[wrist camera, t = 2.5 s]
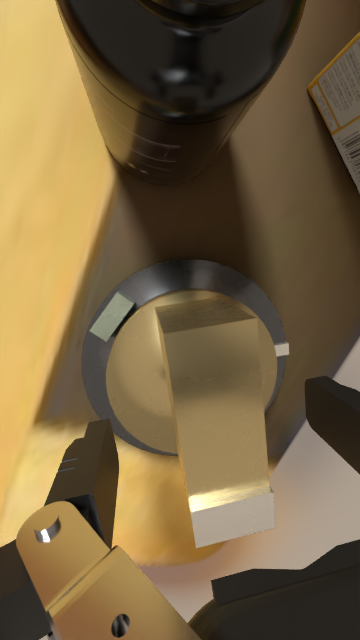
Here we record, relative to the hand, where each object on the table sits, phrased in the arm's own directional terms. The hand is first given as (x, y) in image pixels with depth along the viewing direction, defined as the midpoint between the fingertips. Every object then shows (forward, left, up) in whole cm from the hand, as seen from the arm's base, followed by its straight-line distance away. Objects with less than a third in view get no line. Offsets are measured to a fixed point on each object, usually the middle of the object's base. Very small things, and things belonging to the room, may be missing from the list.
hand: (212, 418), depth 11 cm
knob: (0, 0, -5) cm, 5 cm away
